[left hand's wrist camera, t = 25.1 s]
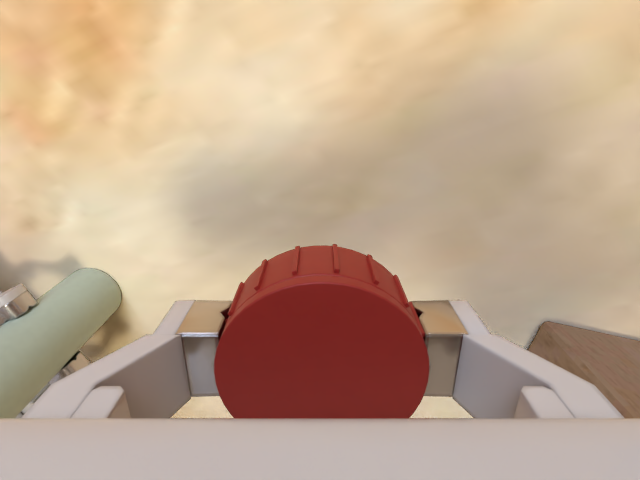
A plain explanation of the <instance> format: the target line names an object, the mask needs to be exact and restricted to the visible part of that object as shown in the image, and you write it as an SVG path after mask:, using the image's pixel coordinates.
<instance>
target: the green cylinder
mask: <svg viewBox="0 0 640 480" xmlns="http://www.w3.org/2000/svg"><path fill="white" fill-rule="evenodd" d="M36 301H37V302H38V303H37V304H36V305H35V306H33V307H31V308H29V309H28V311H27V312H25V313H24V314H22V315H21V316H19V317H17V318H16V319H14V320H11V321H7V322H6V323H5V324H3V325H2V326H0V418H16V416H17V415H18V414H19V413H20V412H21V411H22V410H23V409H24V408H25V407H26V406H27V405H28V404H29V403H30V402H31V400H32V399H33V398H34V397H35V396H36V395H37V394H38V393H39V392H40V391H41V390H42V389H43V388H44V387H45V386H46V384H47V383H48V382H49V381H50V380H51V379H52V378H53V377H54V376H55V375H56V374H57V373H58V372H59V371H60V370H61V369H62V367H63V366H64V365H65V364H66V363H67V362H68V361H69V360H70V359H71V358H72V357H73V356H74V355H75V354H76V353H77V351H78V350H79V349H80V348H81V347H82V346H83V345H84V344H85V343H86V342H87V341H88V340H89V339H90V338H91V337H92V335H93V334H94V333H95V332H96V331H97V330H98V329H99V328H100V327H101V326H102V325H103V324H104V323H105V322H106V321H107V319H108V318H109V317H110V316H111V315H112V314H113V313H114V312H115V311H116V310H117V309H118V307H119V306H120V303H121V291H120V288H119V286H118V285H117V283H116V282H115V281H114V279H113V278H111V277H110V276H109V275H108V274H106V273H104V272H102V271H100V270H97V269H91V268H85V269H80V270H77V271H75V272H74V273H72V274H71V275H69V276H68V277H67V278H65V279H64V280H63V281H61V282H60V283H59V284H57V285H56V286H55V287H53V288H52V289H51V290H49V291H48V292H46V293H45V294H44V295H42V296H41V297H40V298H38V299H37V300H36Z"/></svg>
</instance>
